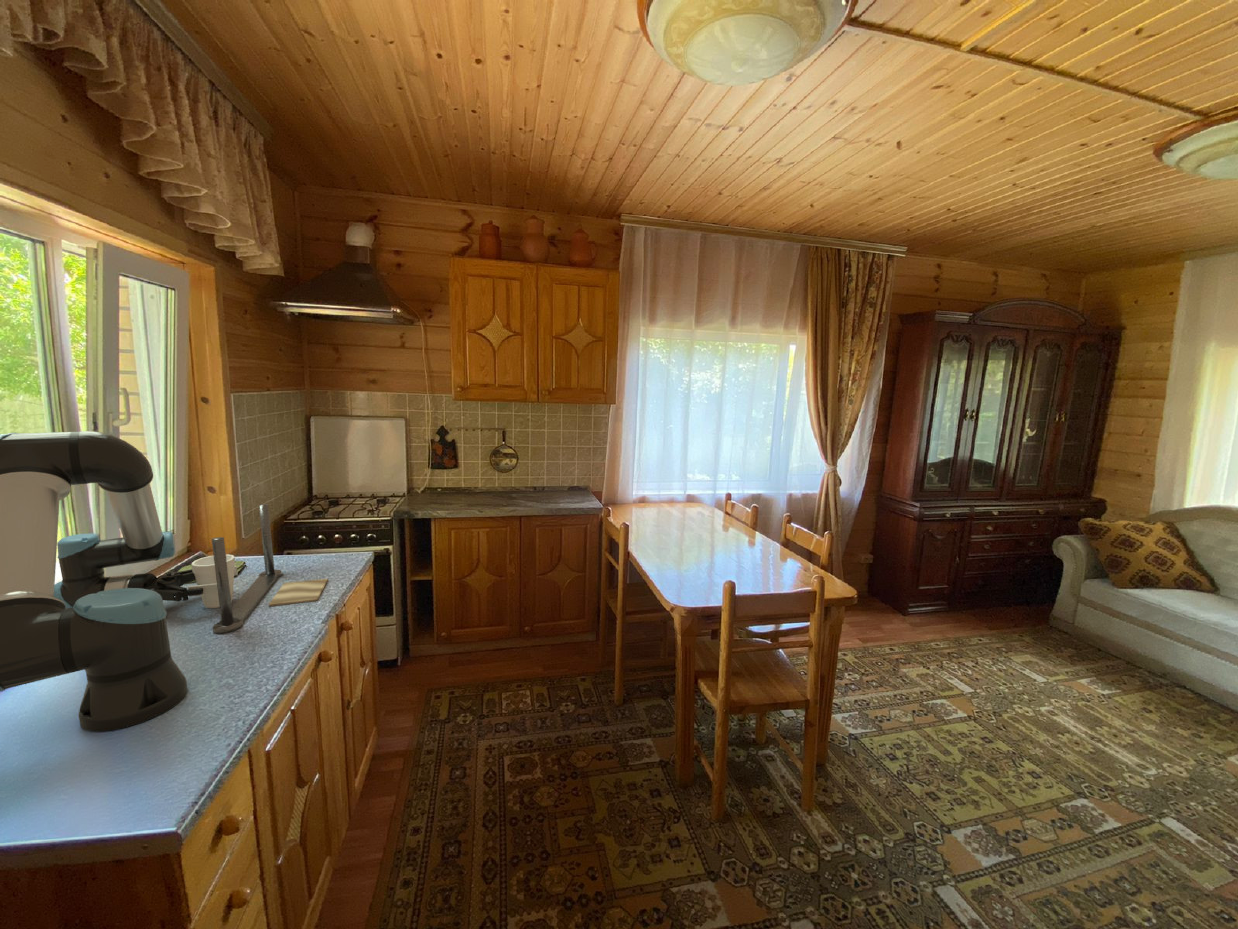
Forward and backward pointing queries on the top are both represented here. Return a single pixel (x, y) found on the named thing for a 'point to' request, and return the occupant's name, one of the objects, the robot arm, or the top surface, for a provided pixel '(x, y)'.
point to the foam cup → (212, 577)
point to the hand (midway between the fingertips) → (228, 579)
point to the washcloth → (237, 563)
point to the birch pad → (299, 592)
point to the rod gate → (243, 607)
